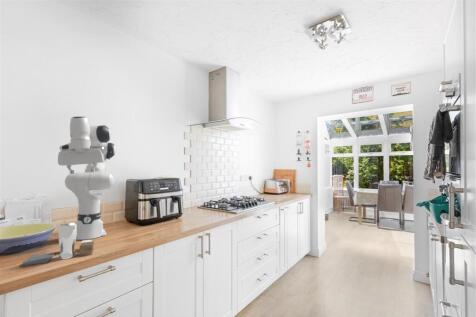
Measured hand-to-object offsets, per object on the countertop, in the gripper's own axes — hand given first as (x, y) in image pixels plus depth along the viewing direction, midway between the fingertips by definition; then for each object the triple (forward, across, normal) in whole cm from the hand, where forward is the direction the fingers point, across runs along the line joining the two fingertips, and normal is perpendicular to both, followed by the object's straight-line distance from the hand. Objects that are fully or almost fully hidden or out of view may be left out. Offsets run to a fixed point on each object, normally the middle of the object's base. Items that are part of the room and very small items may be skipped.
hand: (82, 172), depth 120 cm
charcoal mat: (+38, +16, +10) cm, 42 cm away
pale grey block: (+39, +1, 0) cm, 39 cm away
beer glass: (+39, +5, +9) cm, 41 cm away
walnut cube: (+40, -2, +7) cm, 40 cm away
